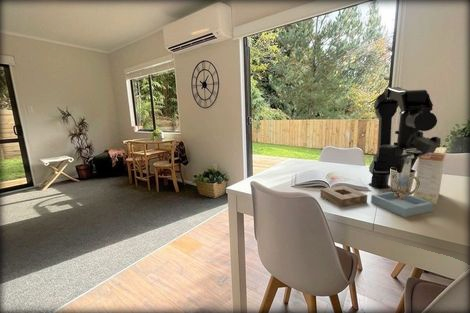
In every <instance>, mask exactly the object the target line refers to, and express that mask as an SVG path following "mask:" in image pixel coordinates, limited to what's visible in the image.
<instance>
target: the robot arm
mask: <svg viewBox="0 0 470 313" xmlns="http://www.w3.org/2000/svg"><path fill="white" fill-rule="evenodd" d="M430 97H431V96H430V94H429V93H428V91H427V90H426V89H415V90H414V89H413V90H411V89H410V90H409V89H405V88H402V87H399V86H397V87H394V86H393V87H388V88H385V89H384V92H382V93H381V94H379V95H378V96H377V97H376V99H375V101H374V103H373V109H374V111H375V112H374V113H375V116H376V117H377V118H378V138H377V141H378V142H377V152H376V153H375V155H374V156H373V158H372V161H371V163H370V165H369V167H368V169H369V171H368V172H369V173H370V174H371V181H370V183H368V186H371V187H374V188H376V189H380V190H382V189H389V188H391V187H390V186H391V185H389V179H390V176H389V175H390V168H391V167H395V168H396V171H397V172H398V173H401V171H402V168H403V163H404V159H405V158H407V157H408V156H409V155H405V153H412V154H415V156H414V158H413V159H412V162H411V169H410V171H411V170H412V168H413V167H414V165H415V163H416V162H417V160H418V159H419V157H420V156H422V155H425V154H427V153H434V151H435V150H436V148H440V147H441V142H442V141H441V137H438V136H432V137H430V138H429V137H425V136H424V132H428V131H430V130H432V129H434V128H435V127H436V125H437V124H438V119H437V116H436V115H435V113H433V112H431V111H433V107H434V104H433V102H432V99H431V98H430ZM398 108H399V109H400V111H399V123H398V130H394V132H395V133H394V134H395V135H397V140H396V142H393V144H391V143H392V124H393V123H392V120H393V117H394V116H395V115H396V113H397V111H398V110H397V109H398ZM421 152H422V153H421Z"/></svg>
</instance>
